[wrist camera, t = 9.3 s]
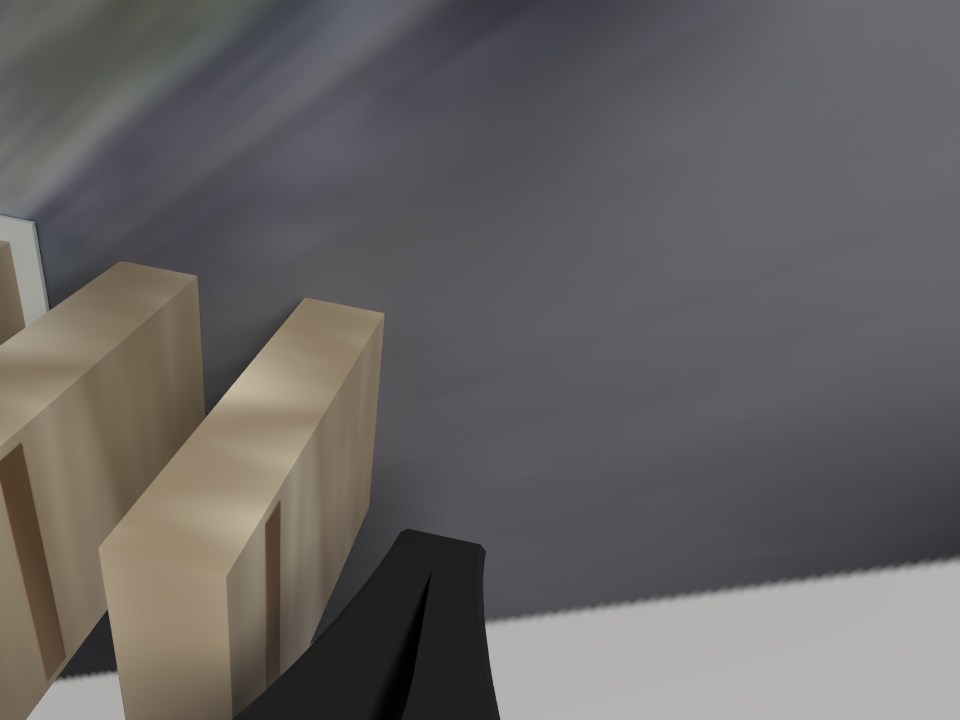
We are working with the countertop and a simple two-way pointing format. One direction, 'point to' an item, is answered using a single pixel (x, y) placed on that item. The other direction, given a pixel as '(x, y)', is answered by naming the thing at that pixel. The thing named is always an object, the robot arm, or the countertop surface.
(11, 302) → the tile
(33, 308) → the plate
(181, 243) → the countertop surface
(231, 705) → the tile
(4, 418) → the tile
